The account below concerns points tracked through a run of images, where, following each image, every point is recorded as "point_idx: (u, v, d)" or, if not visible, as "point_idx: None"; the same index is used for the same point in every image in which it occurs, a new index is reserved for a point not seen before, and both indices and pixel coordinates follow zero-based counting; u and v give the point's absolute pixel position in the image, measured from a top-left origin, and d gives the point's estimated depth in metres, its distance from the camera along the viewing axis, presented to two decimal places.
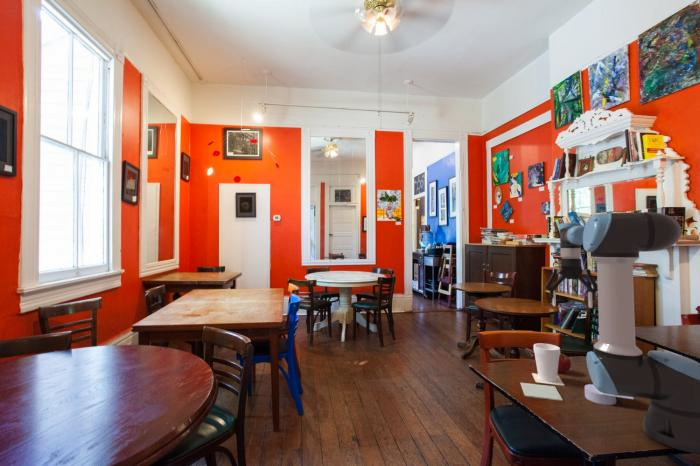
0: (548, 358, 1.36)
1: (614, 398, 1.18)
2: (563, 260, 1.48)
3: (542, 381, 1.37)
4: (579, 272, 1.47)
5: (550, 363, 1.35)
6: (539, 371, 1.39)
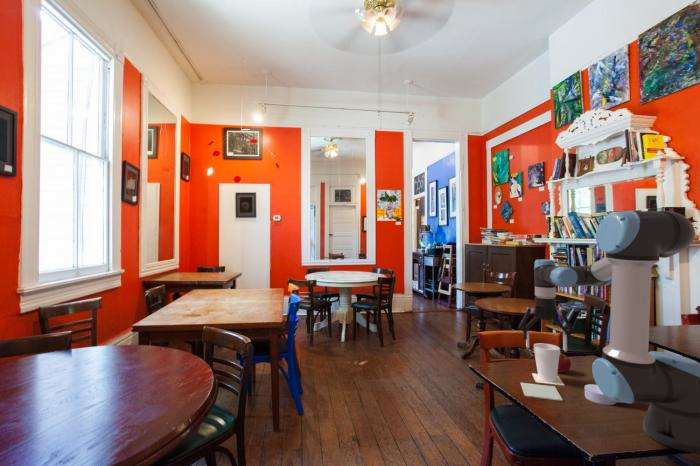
0: (548, 358, 1.36)
1: None
2: (537, 300, 1.40)
3: (542, 381, 1.37)
4: (553, 313, 1.38)
5: (550, 363, 1.35)
6: (539, 371, 1.39)
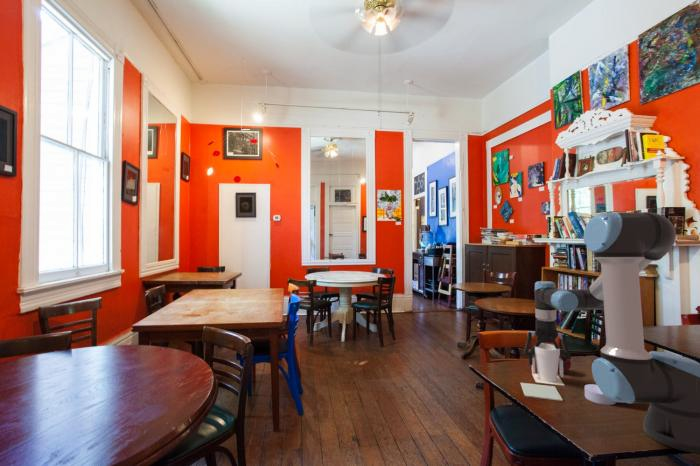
0: (548, 358, 1.36)
1: None
2: (538, 322, 1.39)
3: (542, 381, 1.37)
4: (554, 335, 1.38)
5: (550, 363, 1.35)
6: (539, 371, 1.39)
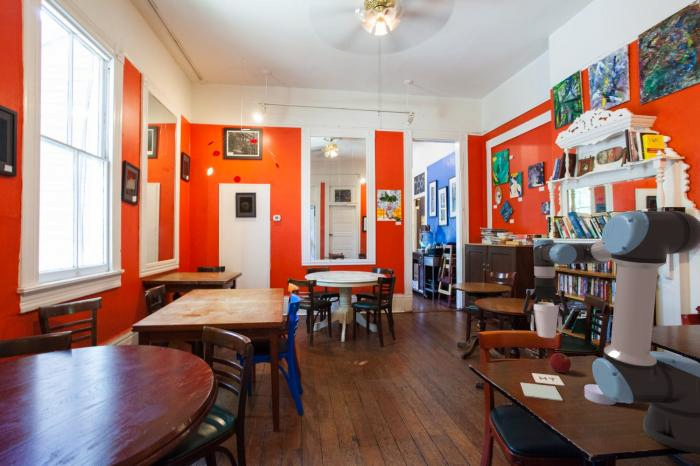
0: (547, 314, 1.36)
1: None
2: (536, 279, 1.40)
3: (542, 381, 1.37)
4: (553, 292, 1.38)
5: (549, 319, 1.36)
6: (538, 328, 1.39)
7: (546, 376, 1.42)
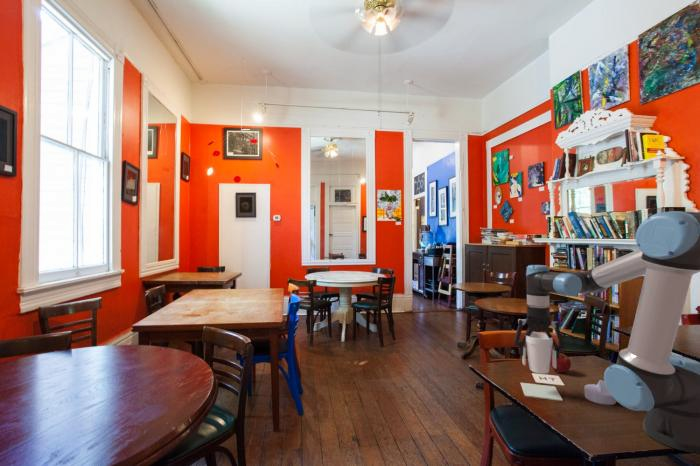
0: (540, 348, 1.24)
1: None
2: (529, 309, 1.28)
3: (542, 381, 1.37)
4: (547, 323, 1.27)
5: (542, 353, 1.24)
6: (530, 362, 1.28)
7: (546, 376, 1.42)
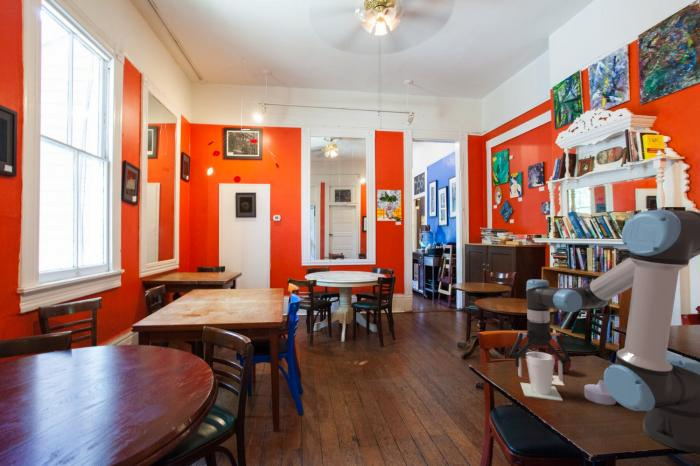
0: (541, 369, 1.24)
1: None
2: (529, 324, 1.28)
3: None
4: (548, 338, 1.26)
5: (543, 374, 1.24)
6: (532, 382, 1.27)
7: None
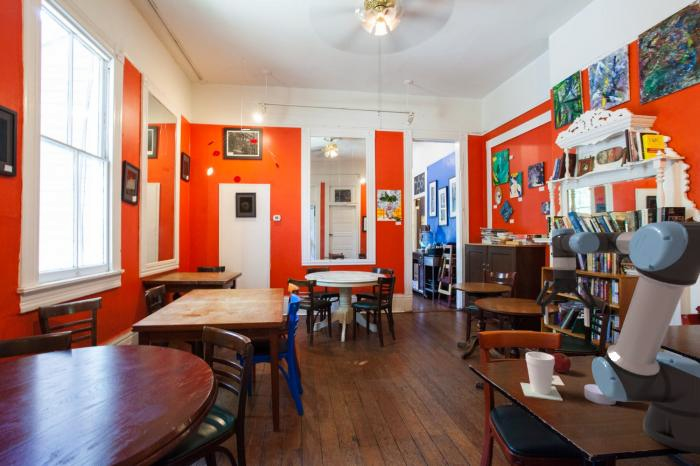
0: (541, 369, 1.24)
1: None
2: (556, 271, 1.29)
3: None
4: (574, 285, 1.28)
5: (543, 374, 1.24)
6: (532, 382, 1.27)
7: None
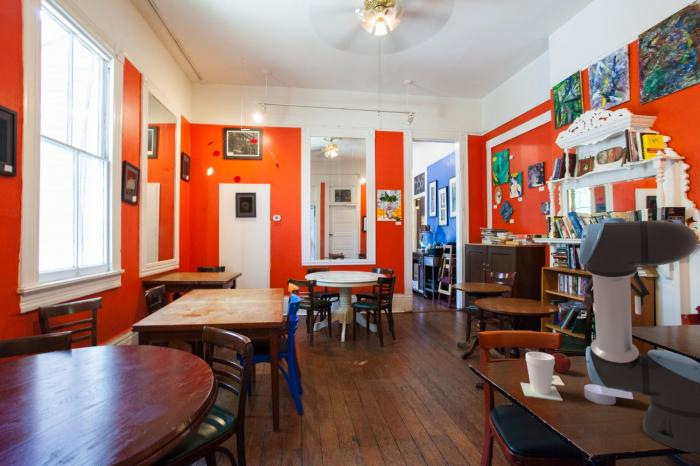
0: (541, 369, 1.24)
1: (614, 398, 1.18)
2: None
3: None
4: None
5: (543, 374, 1.24)
6: (532, 382, 1.27)
7: None
